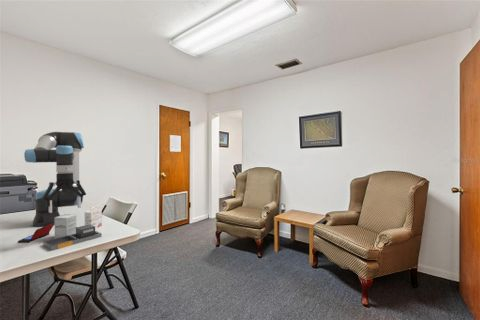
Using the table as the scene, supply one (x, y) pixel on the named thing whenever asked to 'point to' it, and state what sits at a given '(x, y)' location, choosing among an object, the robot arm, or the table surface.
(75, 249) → the table surface
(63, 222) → the supplement box
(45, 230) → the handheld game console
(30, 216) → the table surface
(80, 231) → the dark grey box
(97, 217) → the ink cartridge box
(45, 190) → the robot arm
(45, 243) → the rack
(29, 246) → the table surface
